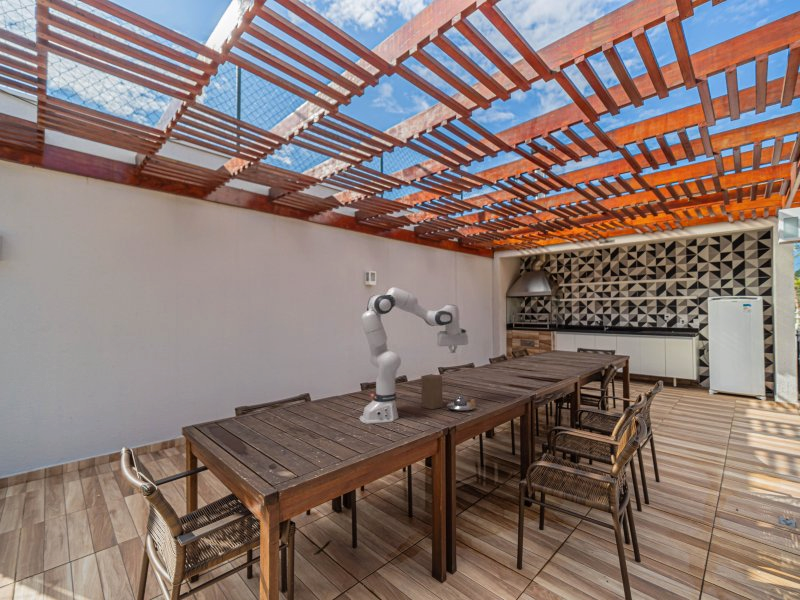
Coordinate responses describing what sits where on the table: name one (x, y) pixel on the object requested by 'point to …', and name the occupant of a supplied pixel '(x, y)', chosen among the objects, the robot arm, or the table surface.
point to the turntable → (468, 407)
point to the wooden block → (431, 391)
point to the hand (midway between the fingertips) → (453, 352)
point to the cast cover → (460, 401)
